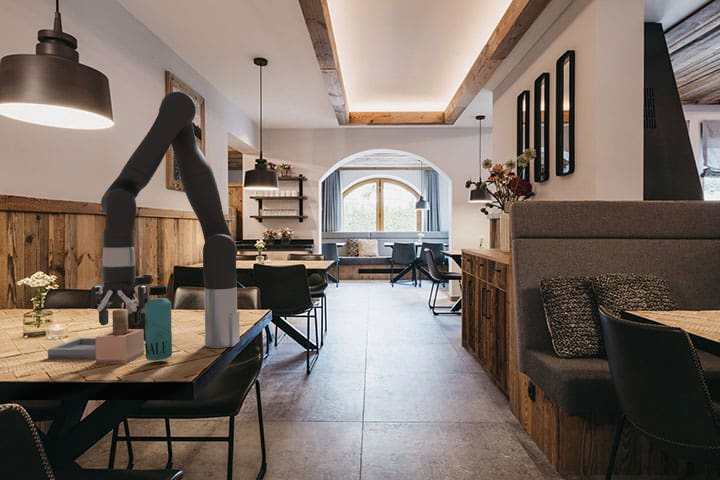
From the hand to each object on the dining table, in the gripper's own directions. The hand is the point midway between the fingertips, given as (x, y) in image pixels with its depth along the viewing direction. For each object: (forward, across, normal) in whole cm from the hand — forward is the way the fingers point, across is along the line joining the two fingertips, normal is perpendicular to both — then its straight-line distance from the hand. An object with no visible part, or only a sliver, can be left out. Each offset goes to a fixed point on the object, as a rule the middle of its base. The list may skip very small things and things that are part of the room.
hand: (120, 324), depth 107 cm
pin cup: (+9, 0, 0) cm, 9 cm away
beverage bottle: (+9, -12, +3) cm, 16 cm away
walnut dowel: (+8, 0, 0) cm, 8 cm away
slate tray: (+9, +13, -6) cm, 17 cm away
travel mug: (+9, +7, -21) cm, 24 cm away
